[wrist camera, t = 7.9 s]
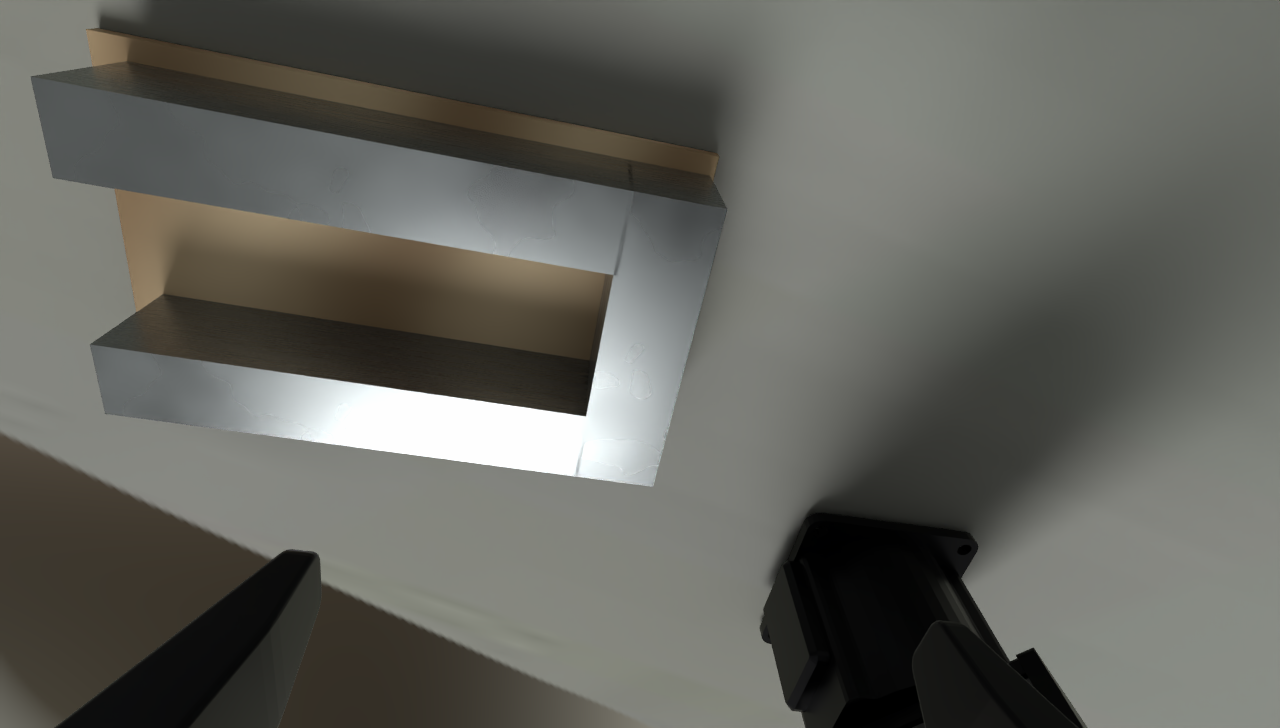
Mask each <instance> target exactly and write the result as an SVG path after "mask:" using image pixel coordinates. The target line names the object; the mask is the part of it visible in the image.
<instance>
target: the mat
mask: <svg viewBox="0 0 1280 728" xmlns="http://www.w3.org/2000/svg"><path fill="white" fill-rule="evenodd" d="M86 31H87V37H88V42H89V48H90V54H91V59H92V65H93V66H99V65H106V64H112V63H118V62H124V61H129V62H134V63H139V64H144V65H149V66H155V67H160V68H165V69H170V70H175V71H180V72H185V73H190V74H195V75H200V76H205V77H211V78H216V79H221V80H226V81H231V82H236V83H241V84H246V85H251V86H256V87H262V88H267V89H272V90H277V91H282V92H287V93H292V94H297V95H302V96H307V97H312V98H318V99H323V100H328V101H333V102H338V103H343V104H348V105H353V106H358V107H363V108H368V109H374V110H379V111H384V112H389V113H394V114H399V115H404V116H409V117H414V118H419V119H424V120H430V121H435V122H440V123H445V124H450V125H455V126H460V127H465V128H470V129H475V130H481V131H486V132H491V133H496V134H501V135H506V136H511V137H516V138H521V139H526V140H531V141H537V142H542V143H547V144H552V145H557V146H562V147H567V148H572V149H577V150H582V151H587V152H593V153H598V154H603V155H608V156H613V157H618V158H623V159H628V160H633V161H638V162H643V163H649V164H654V165H659V166H664V167H669V168H674V169H679V170H684V171H689V172H694V173H699V174H705V175H710V177H711V179H712V180H713V179H714V175H715V171H716V167H717V164H718V160H719V155H718V154H717V153H714V152H709V151H704V150H699V149H694V148H689V147H684V146H679V145H674V144H669V143H664V142H659V141H654V140H649V139H644V138H639V137H634V136H629V135H624V134H619V133H614V132H609V131H605V130H600V129H595V128H590V127H585V126H580V125H575V124H570V123H565V122H560V121H555V120H550V119H545V118H540V117H535V116H530V115H525V114H520V113H515V112H510V111H505V110H500V109H496V108H491V107H486V106H481V105H476V104H471V103H466V102H461V101H456V100H451V99H446V98H441V97H436V96H431V95H426V94H421V93H416V92H411V91H406V90H401V89H396V88H391V87H386V86H382V85H377V84H372V83H367V82H362V81H357V80H352V79H347V78H342V77H337V76H332V75H327V74H322V73H317V72H312V71H307V70H302V69H297V68H292V67H287V66H282V65H277V64H273V63H268V62H263V61H258V60H253V59H248V58H243V57H238V56H233V55H228V54H223V53H218V52H213V51H208V50H203V49H198V48H193V47H188V46H183V45H178V44H173V43H168V42H164V41H159V40H154V39H149V38H144V37H139V36H134V35H129V34H124V33H119V32H114V31H109V30H104V29H99V28H95V29H86ZM115 194H116V200H117V205H118V211H119V216H120V222H121V228H122V233H123V239H124V244H125V250H126V256H127V261H128V267H129V273H130V278H131V284H132V289H133V295H134V301H135V306H136V312H138V311H139V310H141V309H142V308H143V307H145V306H146V305H148V304H149V303H151V302H152V301H154V300H155V299H156V298H158V297H159V296H161V295H162V294H168V295H174V296H180V297H187V298H193V299H200V300H206V301H212V302H219V303H225V304H232V305H238V306H244V307H251V308H257V309H264V310H270V311H276V312H283V313H289V314H296V315H302V316H309V317H315V318H321V319H328V320H334V321H341V322H347V323H353V324H360V325H366V326H373V327H379V328H385V329H392V330H398V331H405V332H411V333H417V334H424V335H430V336H437V337H443V338H450V339H456V340H462V341H469V342H475V343H482V344H488V345H494V346H501V347H507V348H514V349H520V350H526V351H533V352H539V353H546V354H552V355H558V356H565V357H571V358H578V359H584V360H590V354H591V349H592V344H593V338H594V333H595V328H596V322H597V317H598V312H599V306H600V301H601V296H602V290H603V285H604V280H605V274H604V273H598V272H593V271H587V270H581V269H575V268H570V267H564V266H558V265H552V264H546V263H541V262H535V261H529V260H523V259H518V258H512V257H506V256H500V255H495V254H489V253H483V252H477V251H471V250H466V249H460V248H454V247H448V246H443V245H437V244H431V243H425V242H419V241H414V240H408V239H402V238H396V237H391V236H385V235H379V234H373V233H368V232H362V231H356V230H350V229H344V228H339V227H333V226H327V225H321V224H316V223H310V222H304V221H298V220H293V219H287V218H281V217H275V216H269V215H264V214H258V213H252V212H246V211H241V210H235V209H229V208H223V207H218V206H212V205H206V204H200V203H194V202H189V201H183V200H177V199H171V198H166V197H160V196H154V195H148V194H143V193H137V192H131V191H125V190H119V189H115Z"/></svg>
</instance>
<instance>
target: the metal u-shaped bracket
mask: <svg viewBox="0 0 1280 728" xmlns="http://www.w3.org/2000/svg"><path fill="white" fill-rule="evenodd" d="M31 81H32V85H33V90H34V94H35V99H36V103H37V108H38V112H39V117H40V121H41V126H42V130H43V135H44V140H45V144H46V149H47V153H48V158H49V162H50V167H51V171H52V176H53V178H56V179H62V180H68V181H73V182H79V183H85V184H91V185H96V186H102V187H108V188H114V189H119V190H125V191H131V192H137V193H143V194H148V195H154V196H160V197H166V198H171V199H177V200H183V201H189V202H194V203H200V204H206V205H212V206H218V207H223V208H229V209H235V210H241V211H246V212H252V213H258V214H264V215H269V216H275V217H281V218H287V219H293V220H298V221H304V222H310V223H316V224H321V225H327V226H333V227H339V228H344V229H350V230H356V231H362V232H368V233H373V234H379V235H385V236H391V237H396V238H402V239H408V240H414V241H419V242H425V243H431V244H437V245H443V246H448V247H454V248H460V249H466V250H471V251H477V252H483V253H489V254H495V255H500V256H506V257H512V258H518V259H523V260H529V261H535V262H541V263H546V264H552V265H558V266H564V267H570V268H575V269H581V270H587V271H593V272H598V273H604V274H605V280H604V285H603V290H602V296H601V301H600V306H599V312H598V317H597V322H596V328H595V333H594V338H593V344H592V349H591V354H590V360H584V359H578V358H571V357H565V356H558V355H552V354H546V353H539V352H533V351H526V350H520V349H514V348H507V347H501V346H494V345H488V344H482V343H475V342H469V341H462V340H456V339H450V338H443V337H437V336H430V335H424V334H417V333H411V332H405V331H398V330H392V329H385V328H379V327H373V326H366V325H360V324H353V323H347V322H341V321H334V320H328V319H321V318H315V317H309V316H302V315H296V314H289V313H283V312H276V311H270V310H264V309H257V308H251V307H244V306H238V305H232V304H225V303H219V302H212V301H206V300H200V299H193V298H187V297H180V296H174V295H168V294H162V295H161V296H159V297H158V298H156V299H155V300H154V301H152V302H151V303H149V304H148V305H146V306H145V307H143V308H142V309H141V310H139V311H138V312H136V313H135V314H133V315H132V316H130V317H129V318H128V319H126V320H125V321H123V322H122V323H120V324H119V325H117V326H116V327H115V328H113V329H112V330H110V331H109V332H107V333H106V334H104V335H103V336H102V337H100V338H99V339H97V340H96V341H94V342H93V343H91V344H90V347H91V352H92V356H93V361H94V365H95V370H96V374H97V379H98V383H99V388H100V392H101V397H102V401H103V406H104V410H105V414H111V415H118V416H126V417H133V418H141V419H148V420H156V421H163V422H171V423H179V424H186V425H194V426H201V427H209V428H216V429H224V430H231V431H239V432H246V433H254V434H261V435H269V436H276V437H284V438H291V439H299V440H306V441H314V442H321V443H329V444H336V445H344V446H351V447H359V448H366V449H374V450H381V451H389V452H396V453H404V454H411V455H419V456H426V457H434V458H441V459H449V460H456V461H464V462H471V463H479V464H486V465H494V466H501V467H509V468H516V469H524V470H531V471H539V472H546V473H554V474H561V475H569V476H576V477H584V478H591V479H599V480H606V481H614V482H621V483H629V484H636V485H644V486H651V487H653V484H654V481H655V477H656V473H657V470H658V466H659V462H660V458H661V455H662V451H663V447H664V443H665V440H666V436H667V432H668V428H669V425H670V421H671V417H672V414H673V410H674V406H675V402H676V399H677V395H678V391H679V387H680V384H681V380H682V376H683V372H684V369H685V365H686V361H687V357H688V354H689V350H690V346H691V343H692V339H693V335H694V331H695V328H696V324H697V320H698V316H699V313H700V309H701V305H702V301H703V298H704V294H705V290H706V287H707V283H708V279H709V275H710V272H711V268H712V264H713V260H714V257H715V253H716V249H717V245H718V242H719V238H720V234H721V230H722V227H723V223H724V219H725V216H726V212H727V208H726V206H725V204H724V202H723V200H722V198H721V196H720V194H719V192H718V190H717V188H716V186H715V184H714V182H713V180H712V179H711V177H710V175H705V174H699V173H694V172H689V171H684V170H679V169H674V168H669V167H664V166H659V165H654V164H649V163H643V162H638V161H633V160H628V159H623V158H618V157H613V156H608V155H603V154H598V153H593V152H587V151H582V150H577V149H572V148H567V147H562V146H557V145H552V144H547V143H542V142H537V141H531V140H526V139H521V138H516V137H511V136H506V135H501V134H496V133H491V132H486V131H481V130H475V129H470V128H465V127H460V126H455V125H450V124H445V123H440V122H435V121H430V120H424V119H419V118H414V117H409V116H404V115H399V114H394V113H389V112H384V111H379V110H374V109H368V108H363V107H358V106H353V105H348V104H343V103H338V102H333V101H328V100H323V99H318V98H312V97H307V96H302V95H297V94H292V93H287V92H282V91H277V90H272V89H267V88H262V87H256V86H251V85H246V84H241V83H236V82H231V81H226V80H221V79H216V78H211V77H205V76H200V75H195V74H190V73H185V72H180V71H175V70H170V69H165V68H160V67H155V66H149V65H144V64H139V63H134V62H129V61H124V62H118V63H112V64H106V65H99V66H93V67H87V68H81V69H74V70H68V71H62V72H56V73H49V74H43V75H37V76H31Z"/></svg>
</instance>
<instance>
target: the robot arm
mask: <svg viewBox="0 0 1280 728" xmlns="http://www.w3.org/2000/svg"><path fill="white" fill-rule="evenodd" d="M818 526H823V527H821V528H819V529H815V528H816V527H818ZM962 545H963V546H962ZM960 546H961V547H960ZM977 550H978V544H977V542H976V541H975V539H974V538H973V536H972V535H971V534H970V533H967V532H963V531H955V530H948V529H940V528H933V527H925V526H918V525H910V524H902V523H895V522H887V521H880V520H872V519H865V518H857V517H850V516H842V515H835V514H827V513H815V514H812V515H810V516H809V517H807V518H806V520H805V521H804V523H803V526H802V528H801V530H800V533H799V535H798V538H797V540H796V542H795V545H794V547H793V549H792V552H791V554H790V557H789V559H788V560H787V561H786V562H785V563H784V564H783V565H782V566H781V568H780V571H779V573H778V575H777V578H776V580H775V583H774V585H773V587H772V590H771V592H770V595H769V597H768V599H767V602H766V604H765V607H764V615H765V616H764V618H763V621H762V623H761V625H760V631H761V636H762V639H763V641H765V642H766V643H769V644H772V648H773V653H774V657H775V661H776V665H777V669H778V673H779V677H780V681H781V686H782V690H783V694H784V698H785V702H786V704H787V705H788V707H789V708H790V709H791V710H792V711H799V712H801V713H802V717H803V721H804V725H805V728H1087V726H1086V725H1085V723H1084V722H1083V720H1082V719H1081V717H1080V716H1079V714H1078V713H1077V711H1076V710H1075V708H1074V707H1073V705H1072V704H1071V702H1070V701H1069V699H1068V698H1067V696H1066V695H1065V693H1064V692H1063V690H1062V689H1061V688H1060V686H1059V685H1058V683H1057V682H1056V680H1055V679H1054V677H1053V676H1052V674H1051V673H1050V671H1049V670H1048V668H1047V667H1046V665H1045V664H1044V662H1043V661H1042V659H1041V658H1040V656H1039V655H1038V653H1037V652H1036V651H1035V649H1034V648H1031V649H1029V650H1026V651H1024V652H1022V653H1020V654H1017V655H1016V656H1017V659H1015V660H1013V661H1009V659H1008V657H1007V656H1006V654H1005V652H1004V651H1003V649H1002V647H1001V646H1000V644H999V642H998V640H997V639H996V637H995V635H994V634H993V632H992V630H991V629H990V627H989V625H988V623H987V622H986V620H985V618H984V617H983V615H982V613H981V612H980V610H979V608H978V606H977V605H976V603H975V601H974V600H973V598H972V596H971V594H970V593H969V591H968V589H967V588H966V586H965V584H964V583H963V581H962V579H961V577H962V576H963V574H964V572H965V571H966V569H967V567H968V566H969V564H970V562H971V561H972V559H973V557H974V556H975V554H976V552H977ZM320 602H321V570H320V558H319V555H318V554H317V553H315V552H311V551H302V550H293V549H289V550H286V551H283V552H282V553H280V554H279V555H278V556H276V557H275V558H274V559H272V560H271V561H270V562H269V563H267V564H266V565H265V566H263V567H262V568H261V569H260V570H258V571H257V572H256V573H254V574H253V575H252V576H250V577H249V578H248V579H247V580H245V581H244V582H243V583H241V584H240V585H239V586H238V587H236V588H235V589H234V590H232V591H231V592H230V593H229V594H227V595H226V596H224V597H223V598H222V599H221V600H219V601H218V602H217V603H216V604H214V605H213V606H211V607H210V608H209V609H208V610H207V611H205V612H204V613H202V614H201V615H200V616H199V617H197V618H196V619H195V620H193V621H192V622H191V623H189V624H188V625H187V626H186V627H184V628H183V629H182V630H180V631H179V632H178V633H177V634H175V635H174V636H173V637H171V638H170V639H169V640H167V641H166V642H165V643H164V644H162V645H161V646H160V647H158V648H157V649H156V650H154V651H153V652H152V653H151V654H149V655H148V656H147V657H145V658H144V659H143V660H141V661H140V662H139V663H138V664H136V665H135V666H134V667H132V668H131V669H130V670H129V671H127V672H126V673H125V674H123V675H122V676H121V677H119V678H118V679H117V680H116V681H114V682H113V683H112V684H110V685H109V686H108V687H106V688H105V689H104V690H103V691H101V692H100V693H99V694H97V695H96V696H95V697H94V698H92V699H91V700H90V701H88V702H87V703H86V704H84V705H83V706H82V707H81V708H79V709H78V710H77V711H75V712H74V713H73V714H72V715H70V716H69V717H68V718H66V719H65V720H64V721H62V722H61V723H60V724H58V725H57V726H56V727H55V728H278V726H279V723H280V721H281V718H282V715H283V712H284V710H285V707H286V704H287V701H288V698H289V695H290V692H291V690H292V686H293V684H294V681H295V678H296V675H297V672H298V669H299V666H300V663H301V660H302V657H303V655H304V652H305V649H306V646H307V643H308V640H309V637H310V634H311V631H312V628H313V625H314V622H315V620H316V616H317V614H318V611H319V607H320Z"/></svg>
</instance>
